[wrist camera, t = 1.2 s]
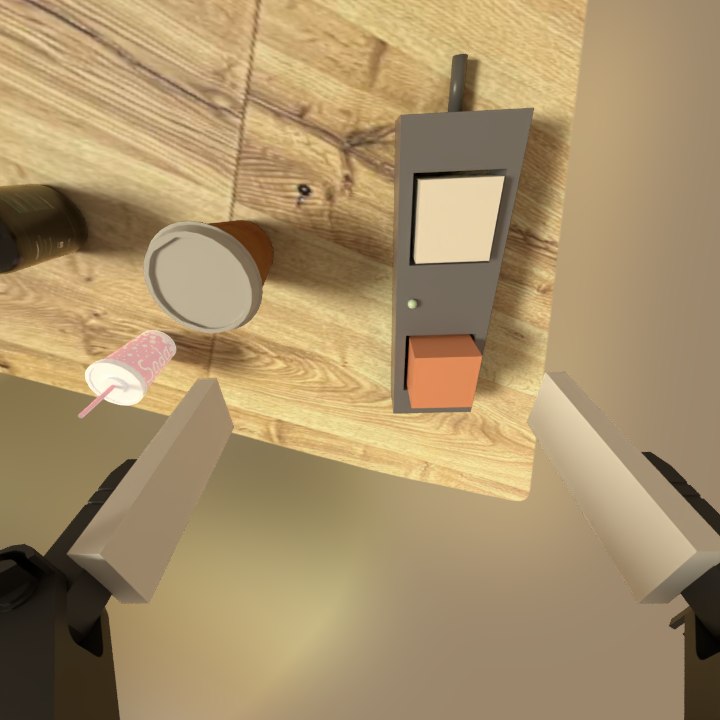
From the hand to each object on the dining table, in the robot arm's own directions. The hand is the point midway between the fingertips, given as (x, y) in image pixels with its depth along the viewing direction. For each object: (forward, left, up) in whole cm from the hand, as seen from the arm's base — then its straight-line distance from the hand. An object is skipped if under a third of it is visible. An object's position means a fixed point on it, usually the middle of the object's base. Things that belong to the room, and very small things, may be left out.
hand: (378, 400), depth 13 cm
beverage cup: (+12, -29, -27) cm, 41 cm away
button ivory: (-3, +8, -25) cm, 27 cm away
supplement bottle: (-4, -34, -27) cm, 43 cm away
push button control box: (+3, +8, -26) cm, 28 cm away
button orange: (+13, +8, -22) cm, 27 cm away
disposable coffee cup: (0, -14, -27) cm, 30 cm away
